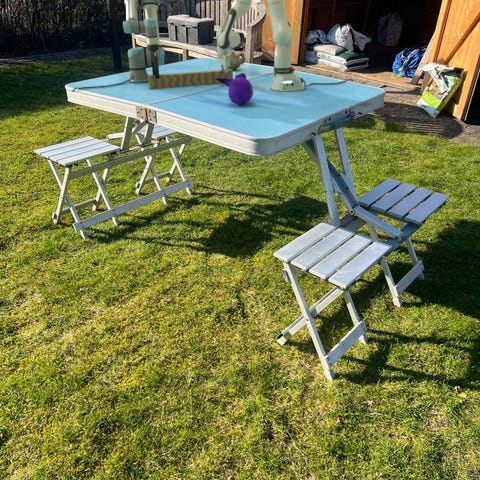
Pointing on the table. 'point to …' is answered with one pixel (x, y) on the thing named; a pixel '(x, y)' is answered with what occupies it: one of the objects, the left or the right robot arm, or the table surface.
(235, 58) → the teapot
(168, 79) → the bar
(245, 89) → the toy
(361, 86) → the table surface
